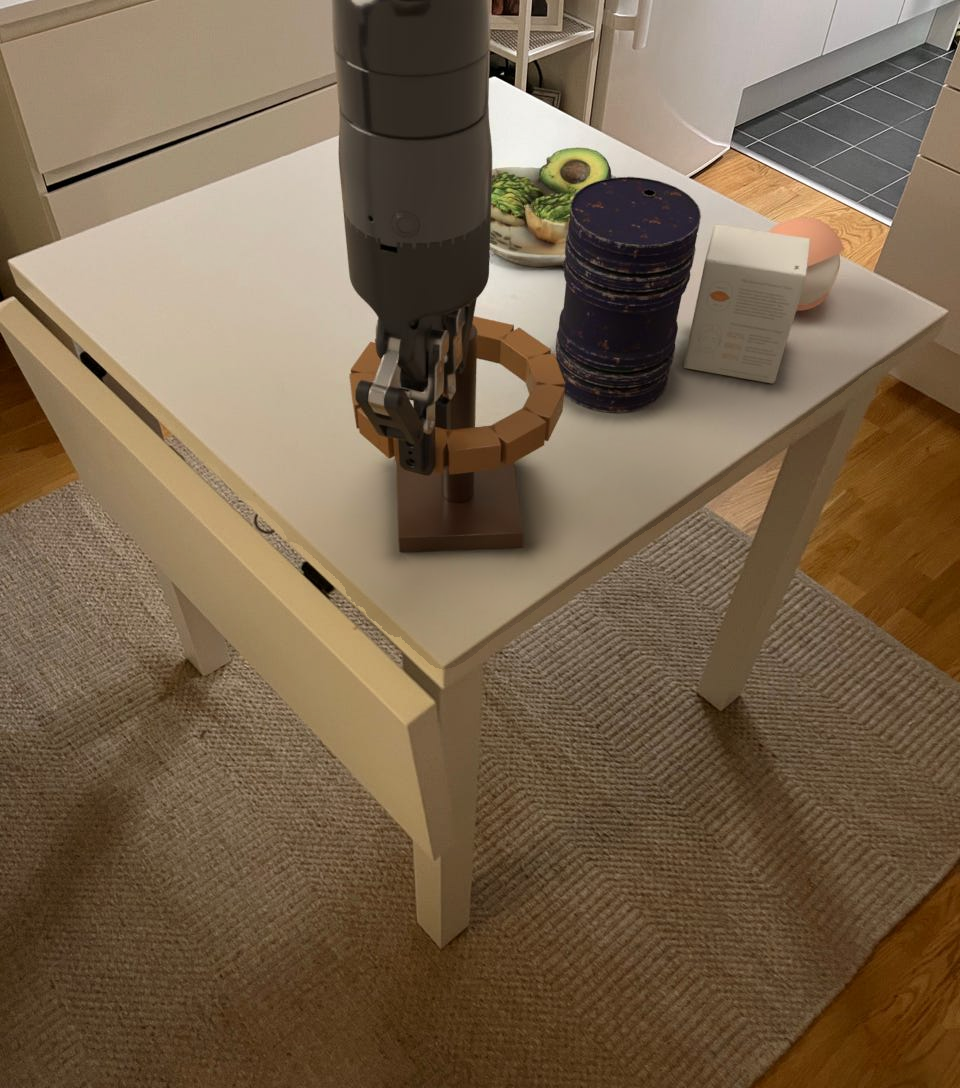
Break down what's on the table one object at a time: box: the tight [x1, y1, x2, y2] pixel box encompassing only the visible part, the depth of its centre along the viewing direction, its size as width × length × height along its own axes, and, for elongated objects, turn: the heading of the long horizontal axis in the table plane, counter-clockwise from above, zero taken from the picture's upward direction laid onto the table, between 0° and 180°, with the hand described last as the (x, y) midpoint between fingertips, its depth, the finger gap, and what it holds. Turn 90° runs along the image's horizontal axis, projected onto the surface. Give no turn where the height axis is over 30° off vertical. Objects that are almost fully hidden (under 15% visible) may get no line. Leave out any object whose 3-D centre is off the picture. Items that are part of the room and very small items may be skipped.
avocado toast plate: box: [490, 147, 617, 268], centre depth 97 cm, size 19×18×5 cm
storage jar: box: [555, 176, 702, 414], centre depth 79 cm, size 10×10×15 cm
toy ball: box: [768, 216, 845, 312], centre depth 89 cm, size 8×8×8 cm
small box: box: [683, 223, 810, 384], centre depth 83 cm, size 8×6×10 cm
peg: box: [395, 324, 525, 553], centre depth 69 cm, size 9×9×16 cm
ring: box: [349, 315, 565, 474], centre depth 67 cm, size 14×14×2 cm
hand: (425, 456), depth 64 cm, fingers closed on ring, 2 cm apart
